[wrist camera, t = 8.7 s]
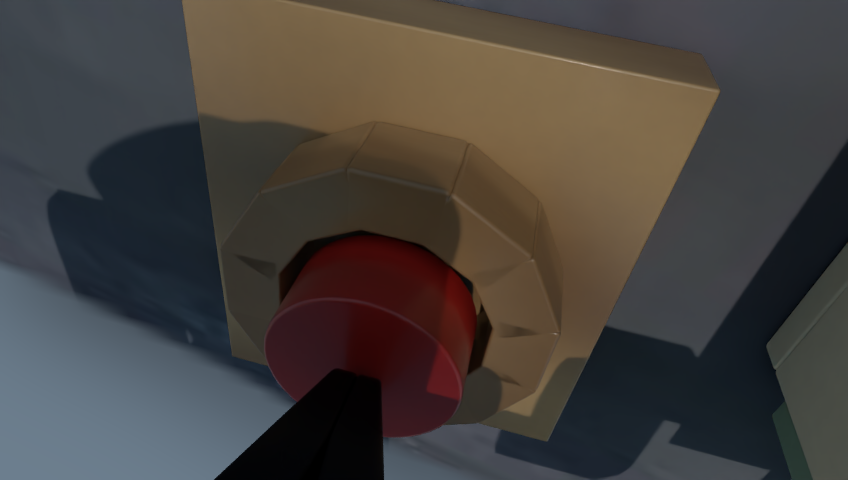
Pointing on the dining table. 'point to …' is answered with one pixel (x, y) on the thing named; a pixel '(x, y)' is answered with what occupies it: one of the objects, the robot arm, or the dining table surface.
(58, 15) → the dining table surface
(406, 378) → the red button
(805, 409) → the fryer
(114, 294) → the dining table surface
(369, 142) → the control block
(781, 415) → the drawer
